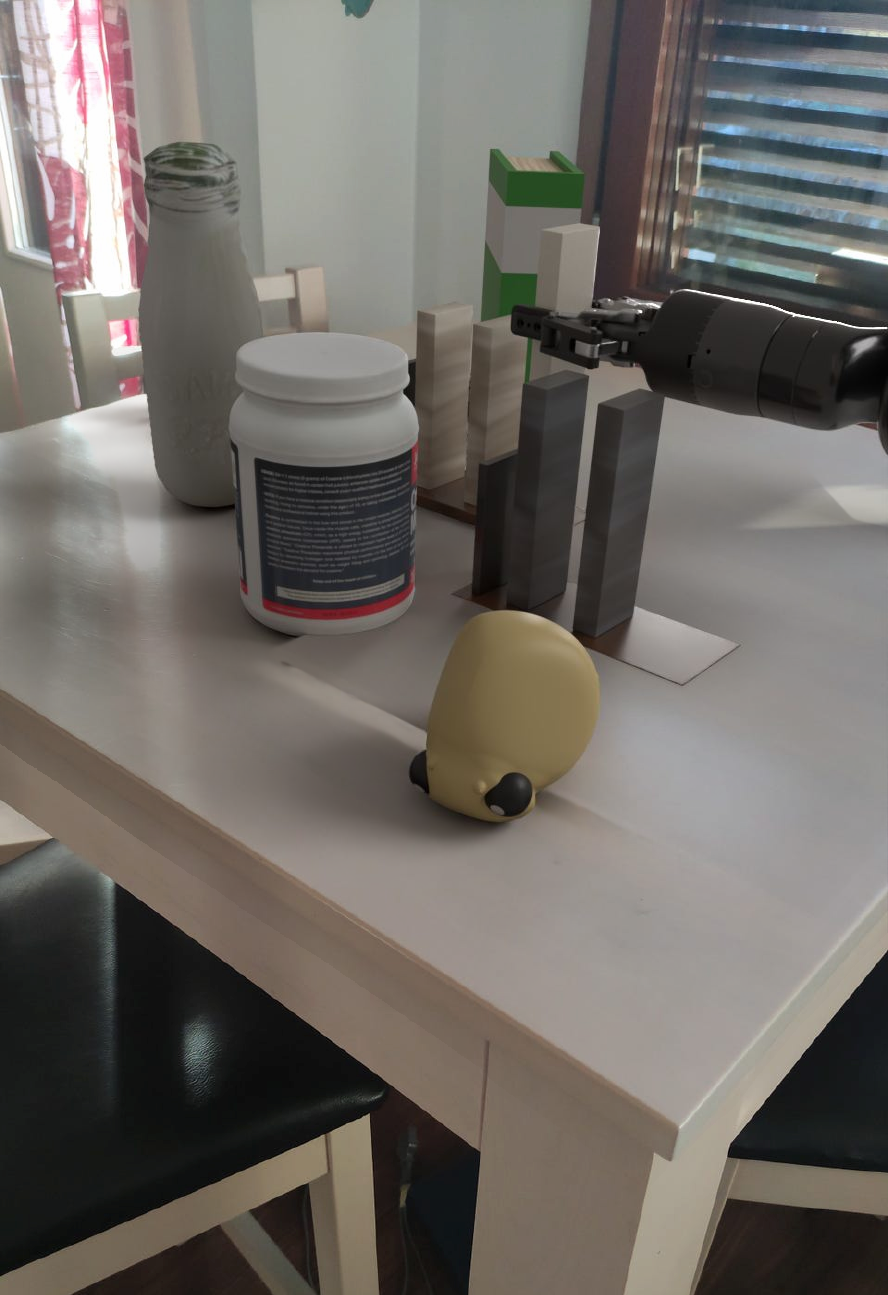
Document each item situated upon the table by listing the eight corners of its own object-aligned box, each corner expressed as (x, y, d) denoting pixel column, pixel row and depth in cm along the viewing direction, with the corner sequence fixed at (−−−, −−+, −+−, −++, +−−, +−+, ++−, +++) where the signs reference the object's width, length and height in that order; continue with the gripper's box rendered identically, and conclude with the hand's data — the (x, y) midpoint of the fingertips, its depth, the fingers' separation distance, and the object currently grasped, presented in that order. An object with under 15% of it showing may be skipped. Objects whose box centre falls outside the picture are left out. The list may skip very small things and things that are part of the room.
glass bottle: (158, 526, 98) (118, 149, 82) (157, 483, 106) (120, 132, 90) (276, 521, 100) (259, 151, 84) (266, 479, 108) (249, 135, 92)
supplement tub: (450, 611, 87) (462, 358, 76) (317, 666, 79) (311, 393, 69) (336, 557, 94) (333, 319, 84) (205, 603, 86) (183, 346, 76)
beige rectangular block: (579, 423, 97) (600, 226, 89) (544, 436, 94) (562, 233, 85) (560, 418, 98) (578, 222, 90) (524, 430, 95) (540, 229, 87)
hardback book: (477, 376, 139) (490, 148, 125) (539, 378, 139) (558, 151, 126) (491, 423, 124) (508, 171, 111) (560, 424, 125) (584, 174, 111)
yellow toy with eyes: (430, 805, 73) (348, 766, 63) (502, 629, 73) (432, 563, 64) (569, 860, 68) (503, 825, 59) (645, 671, 69) (592, 607, 59)
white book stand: (598, 524, 102) (620, 334, 93) (544, 550, 97) (563, 351, 88) (426, 467, 112) (431, 291, 103) (369, 487, 107) (369, 304, 98)
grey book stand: (738, 657, 83) (787, 417, 73) (680, 698, 78) (725, 446, 68) (514, 573, 93) (532, 353, 83) (450, 605, 88) (461, 374, 78)
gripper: (780, 286, 86) (590, 251, 95) (681, 314, 77) (481, 273, 86) (761, 388, 91) (581, 347, 99) (665, 427, 81) (475, 377, 90)
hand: (535, 313), depth 93 cm, fingers closed on beige rectangular block, 5 cm apart
